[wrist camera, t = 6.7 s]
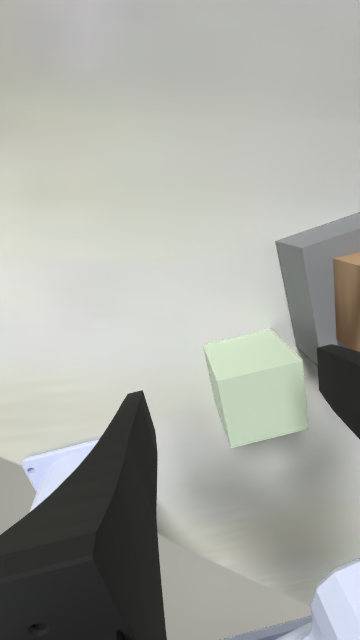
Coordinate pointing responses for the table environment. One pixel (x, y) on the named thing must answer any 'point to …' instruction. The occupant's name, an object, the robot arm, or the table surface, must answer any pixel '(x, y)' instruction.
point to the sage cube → (257, 387)
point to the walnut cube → (347, 299)
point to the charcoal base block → (315, 279)
